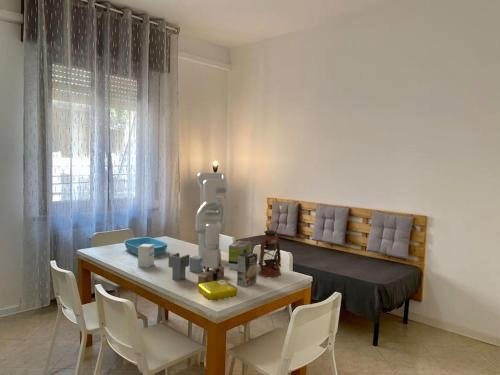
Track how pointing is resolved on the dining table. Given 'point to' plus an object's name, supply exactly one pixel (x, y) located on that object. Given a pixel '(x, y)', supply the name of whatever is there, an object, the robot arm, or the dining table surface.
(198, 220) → the robot arm
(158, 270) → the dining table surface
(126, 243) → the casserole dish
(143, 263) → the supplement box
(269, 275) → the lantern
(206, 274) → the rail
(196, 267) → the grey blue block
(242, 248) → the tea box
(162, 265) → the dining table surface
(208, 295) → the element tile
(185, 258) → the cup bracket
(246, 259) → the coffee box
